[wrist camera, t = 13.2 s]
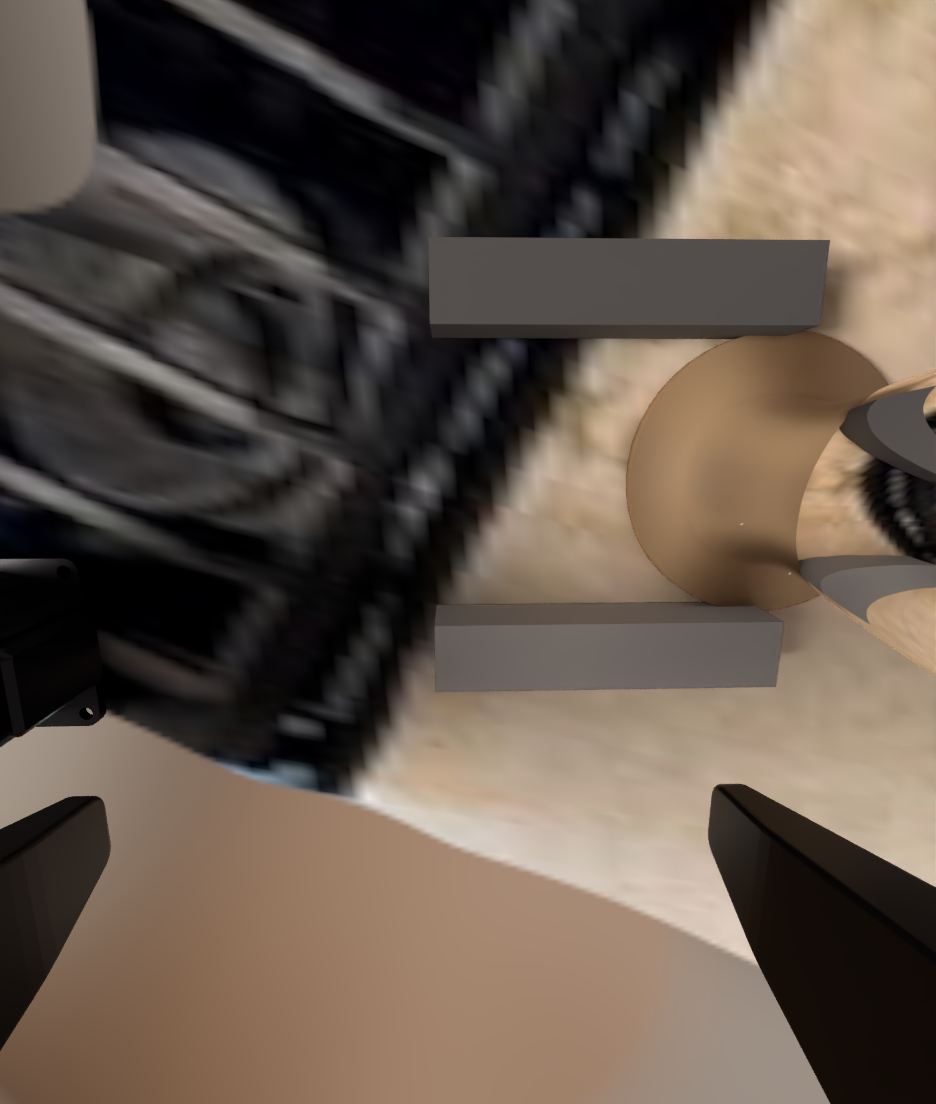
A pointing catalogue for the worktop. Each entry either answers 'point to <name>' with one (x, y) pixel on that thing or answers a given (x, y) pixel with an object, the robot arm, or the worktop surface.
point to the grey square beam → (604, 646)
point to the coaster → (683, 418)
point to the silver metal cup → (831, 502)
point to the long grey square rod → (624, 287)
